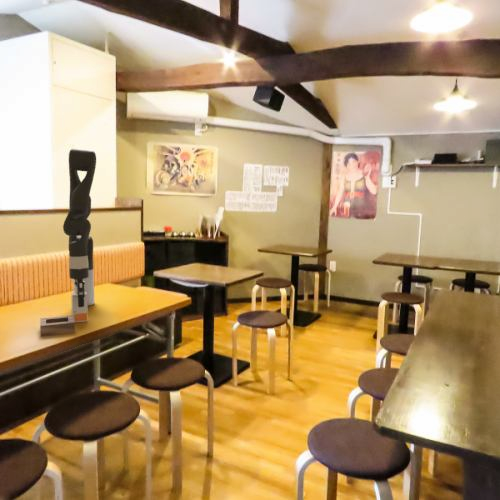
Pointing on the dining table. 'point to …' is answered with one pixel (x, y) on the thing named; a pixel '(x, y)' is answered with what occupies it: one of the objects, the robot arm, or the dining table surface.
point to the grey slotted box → (57, 325)
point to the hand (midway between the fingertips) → (80, 304)
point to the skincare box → (79, 308)
